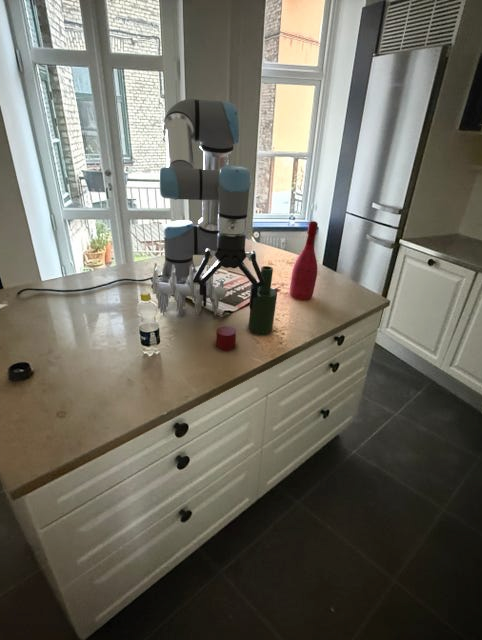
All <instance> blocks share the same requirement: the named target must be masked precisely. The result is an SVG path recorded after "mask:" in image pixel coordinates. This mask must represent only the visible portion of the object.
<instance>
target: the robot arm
mask: <svg viewBox="0 0 482 640" xmlns="http://www.w3.org/2000/svg"><path fill="white" fill-rule="evenodd" d="M239 122H240V121H239V114H238V109H237V106H236V105H235V104H234V103H233V102H228V101H227V102H226V101H223V100H210V99H209V100H207V99H206V100H205V99H194V98H188V99H183V100H180V101H178V102H176V103H175V104H173V105H172V106H171V107H170V108H169V109H168V111H166V114H165V116H164V118H163V122H162V132H163V136H164V138H165V142H166V166H162V167H160V169H159V170H158V171H159V172H158V174H159V175H158V176H159V194H160V196H161V197H162V198H163V199H171V200H175V201H176V200H187V201H188V200H191V201H202V217H201V218H200V219H199V220H198V222H197V223H198V225H195V224H194V223H193V221H191V220H187V219H179V220H174V221H170V222H168V223H166V224H165V225H164V227H163V236H162V237H163V241H164V242H163V243H164V246H163V247H164V262H163V267H162V270H161V272H160V273H161V274H160V275H159V274H158V279H159V278H161V280H162V281H163V282H164V283H169V279H170V277H171V273H172V264H173V265H175V276H176V284H185V283H186V280H188V275H189V270H190V266H191V264H193V267H194V270H193V273H194V272H195V276H194V278H193V282H194V284H195V283H196V284H198V286H200V295H203V301H202V308H206V307H207V298H206V291H207V282H206V281H207V280H208V279H209V278H210V277H212V275H213V276H214V274H215V273H216V272H217V271H218V270H220V268H224V269H230V268H231V269H237V268H239V270H240V271H241V272H242V273H243V274H244V276H245V277H246V278H247V279H248V282H249V283H251V284H250V291H249V303H248V306H249V307H248V308H249V310H250V309H252V307H253V298H257V294H258V288H259V287H260V286H264V285H265V282H264V279H263V276H262V274H261V268H260V266H259V264H258V261H257V254H256V251H255V250H251V251H250V252H246V238H247V236H246V233H247V225H248V211H249V210H248V209H249V199H250V198H249V197H250V196H249V195H250V189H251V188H250V187H251V172H250V170H249V168H247V167H244V166H238V165H237V166H236V165H229V155H230V154H231V153H233V152H234V146H236V145H238V144H239V141H240V123H239ZM193 142H198V143H199V148H200V150H201V151H202V152H203V168H195V163H194V154H193V153H194V152H193ZM194 256H204V257H203V258H202V260H201V263H200V265H199V266H198V268H197V269H196V266H195V263H194ZM213 257H215V258H216V259H217V260H215V263H214V264H213V265H212V266H210V269H209V270H208V271H207V270H206V271H207V272H205V273H204V274H203V272H204V270H205V269H206V268H207V266H208V264H209V260H210V259H212V258H213ZM246 258H247V259H248V261H250V262H251V265H252V267H253V270H254V272H255V274H256V277H257V279H258V280H257V279H256V278H255V276H254V275H253V274H252V272H251V271H250V269H249V268H248V267H247V266H246V264H245V262H244V261H245V259H246ZM202 274H203V275H202ZM150 280H153V276H150V277H147V278H142V279H137V278H136V279H135V278H120V279H115V280H112V281H109V282H106V283H103V284H99V285H95V286H91V287H85V288H77V289H55V288H34V287H33V288H32V287H28V288H27V287H25V288H23V289H21V290H19V291H18V292H17V293H16V295H17V296H18V295H20V294H22V293H23V292H26V291H36V292H56V293H75V292H84V291H90V290H94V289H99V288H103V287H105V286H106V287H107V286H110V285H112V284H115V283H118V282H124V281H127V282H128V281H129V282H146V281H150Z"/></svg>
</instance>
